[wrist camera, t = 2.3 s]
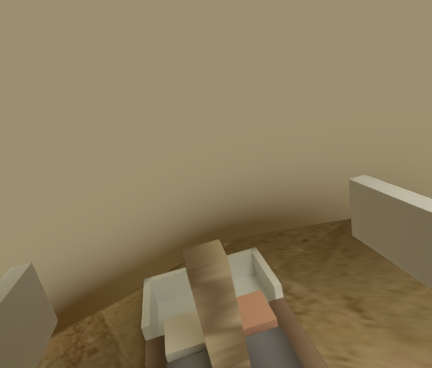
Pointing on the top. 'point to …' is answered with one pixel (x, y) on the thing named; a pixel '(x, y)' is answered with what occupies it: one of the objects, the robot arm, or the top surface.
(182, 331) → the tile cream
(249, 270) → the tray
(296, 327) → the board
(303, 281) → the top surface
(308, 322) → the top surface
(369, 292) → the top surface
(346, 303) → the top surface
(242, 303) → the tile terracotta
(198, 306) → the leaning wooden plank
